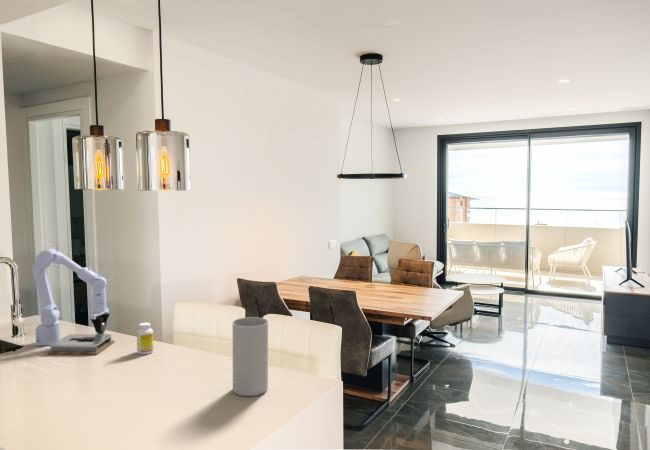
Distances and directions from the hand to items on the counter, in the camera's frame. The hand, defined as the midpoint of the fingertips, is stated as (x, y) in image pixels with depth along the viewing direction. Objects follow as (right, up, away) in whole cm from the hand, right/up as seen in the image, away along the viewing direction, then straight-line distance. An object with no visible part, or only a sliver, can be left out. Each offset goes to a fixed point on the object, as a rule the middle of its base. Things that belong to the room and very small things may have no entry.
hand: (100, 330), depth 224 cm
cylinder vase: (+81, -9, -55) cm, 98 cm away
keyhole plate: (-2, -4, -13) cm, 14 cm away
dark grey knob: (0, -4, 0) cm, 4 cm away
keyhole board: (-3, -5, -13) cm, 14 cm away
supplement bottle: (+28, -6, -17) cm, 34 cm away
